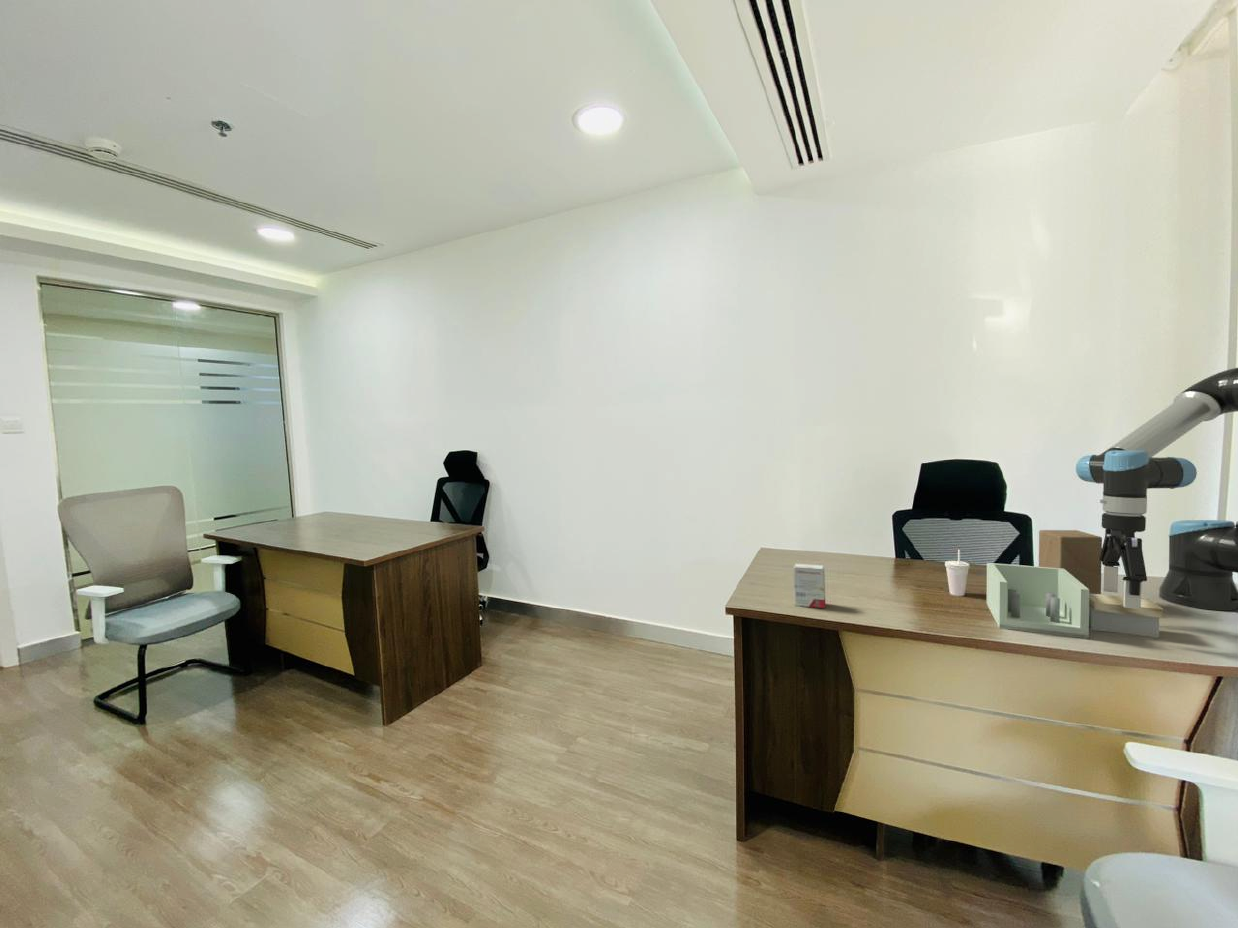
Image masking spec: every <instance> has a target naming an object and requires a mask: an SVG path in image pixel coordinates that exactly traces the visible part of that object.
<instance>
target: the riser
mask: <svg viewBox="0 0 1238 928" xmlns="http://www.w3.org/2000/svg"><path fill="white" fill-rule="evenodd" d="M1160 618H1161V617H1152V616H1142V615H1133V614H1123V613H1114V612H1104V611H1095V610H1094V609H1092V608H1091V607H1090V606H1089V629H1090V630H1091V631H1092V630H1093V631H1099V632H1100V631H1101V632H1108V633H1109V632H1110V633H1119V634H1127V635H1135V636H1143V637H1151V638H1157V639H1158V638H1160Z"/></svg>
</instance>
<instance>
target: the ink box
mask: <svg viewBox="0 0 1238 928" xmlns="http://www.w3.org/2000/svg"><path fill="white" fill-rule="evenodd" d="M825 573H826V572H825V565H819V564H804V563H794V564H793V605H794V606H797V607H806V608H817V609H825V608H826V583H825V582H826V581H825V580H826V578H825V577H826V575H825Z"/></svg>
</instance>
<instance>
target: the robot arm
mask: <svg viewBox="0 0 1238 928" xmlns="http://www.w3.org/2000/svg"><path fill="white" fill-rule="evenodd" d="M1235 412H1238V367H1233V368H1230V369H1226V370H1222V371H1220V372H1217V373H1215V374H1213V375H1210V376H1208V377H1206V378H1204V379H1202V380H1199V381H1198V382H1196V383H1194V384H1192V385H1191V386H1189V387H1187V388H1186V389H1184V390H1183V391H1181V392H1180V393H1179V394H1178V395H1176V396H1175V397H1174V399H1173V402H1172V404H1170V405H1169V406H1166V408H1165V409H1163V410H1161V411H1160V412H1159V413H1157V414H1156V415H1154V416H1153V417H1152V418H1151V419H1149V420H1148V421H1145V423H1142V425H1140V426H1139V427H1138V428H1136V429H1134V430H1133V431H1131V432H1130V433H1129V434H1127V435H1126V436H1124V437H1123V438H1122V439H1120V440H1119V441H1117V442H1115V443H1114V445H1112V446H1110V447H1109V448H1107V449H1106V450H1105V451H1103V452H1101V454H1099V455H1098V454H1090V455H1089V454H1088V455H1085V456H1082V457H1081V458H1079V460H1078V461H1077V462H1076V464H1075V465H1076V466H1075V472H1076V474H1077V476H1078V478H1079V479H1080V480H1082V481H1084V482H1087V483H1088V482H1089V483H1094V484H1101V485H1102V484H1103V489H1102V490H1103V491H1102V499H1099V503H1100V504H1102V511H1103V513H1102V515H1101V527H1102V529H1105V530H1104V531H1105V532H1104V539H1103V542H1102V551H1101V555H1100V558H1099V559H1100V561H1102V563H1101V565H1102V580H1101V592H1108V593H1118V592H1119V591H1118V589H1119V588H1118V587H1119V585H1118V584H1119V582H1118V581H1119V567H1120V566H1121V565H1120V562H1119V561H1120V559H1121V561H1122V565H1123V569H1124V573H1125V576H1123V577H1122V581H1124V582H1123V583H1124V584H1123V597H1124V604H1123V607H1125V608H1133V609H1141V598H1142V585H1143V584H1142V583H1143V582H1147V581H1148V577H1147V571H1146V565H1145V564H1146V563H1145V558H1144V553H1143V552H1144V551H1143V540H1142V538H1140V537H1138V538H1137V537H1136V535H1135V534H1136V533H1142V532H1144V531H1146V527H1147V525H1146V523H1147V517H1146V516H1145V514H1147V512H1148V510H1147V509H1148V495H1147V494H1148V489H1171V490H1173V489H1179V488H1184V487H1188V486H1190V485H1191V484H1192V483H1194V482H1195V480H1196V479H1197V475H1198V472H1197V471H1198V470H1197V467H1196V466H1195V465H1194V463H1193V462H1191V461H1190V460H1188V459H1187V458H1183V457H1175V456H1172V457H1171V456H1166V457H1154V456H1156V455H1157V454H1159V453H1160V452H1162V451H1164V449H1165V448H1167V447H1168V446H1170V445H1172V444H1173V443H1174V442H1175V441H1177V440H1179V439H1180V438H1181V437H1183V436H1185V434H1187V433H1188V432H1190V431H1192V430H1193V429H1194V428H1195V427H1197V426H1198V425H1200V424H1202V422H1209V421H1213V420H1215V419H1217V418H1218V417H1219V416H1221V415H1224V414H1228V413H1235ZM1169 529H1170V530H1169V534H1168V539H1169V540H1168V541H1169V542H1168V543H1169V544H1168V545H1169V546H1168V550H1169V551H1168V553H1169V554H1168V572H1167V573H1166V575H1165V577H1164V579H1163V581H1162V583H1161V585H1160V587H1159V590H1158V591H1159V592H1158V596H1159V597H1160V598H1161V599H1163V600H1165V601H1167V602H1170V603H1174V604H1178V605H1181V606H1182V605H1183V606H1187V607H1192V608H1197V609H1203V610H1204V609H1205V610H1211V611H1226V612H1227V611H1230V612H1231V611H1232V612H1233V611H1238V588H1237V586H1236V583H1235V581H1234V577H1233V576H1234V573H1237V574H1238V521H1236V522H1234V521H1232V520H1222V519H1221V520H1220V519H1219V520H1214V519H1213V520H1211V519H1202V520H1201V519H1199V520H1198V519H1197V520H1196V519H1194V520H1193V519H1191V520H1186V519H1185V520H1176V521H1174V522H1172V523H1171V524H1170V528H1169Z"/></svg>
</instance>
